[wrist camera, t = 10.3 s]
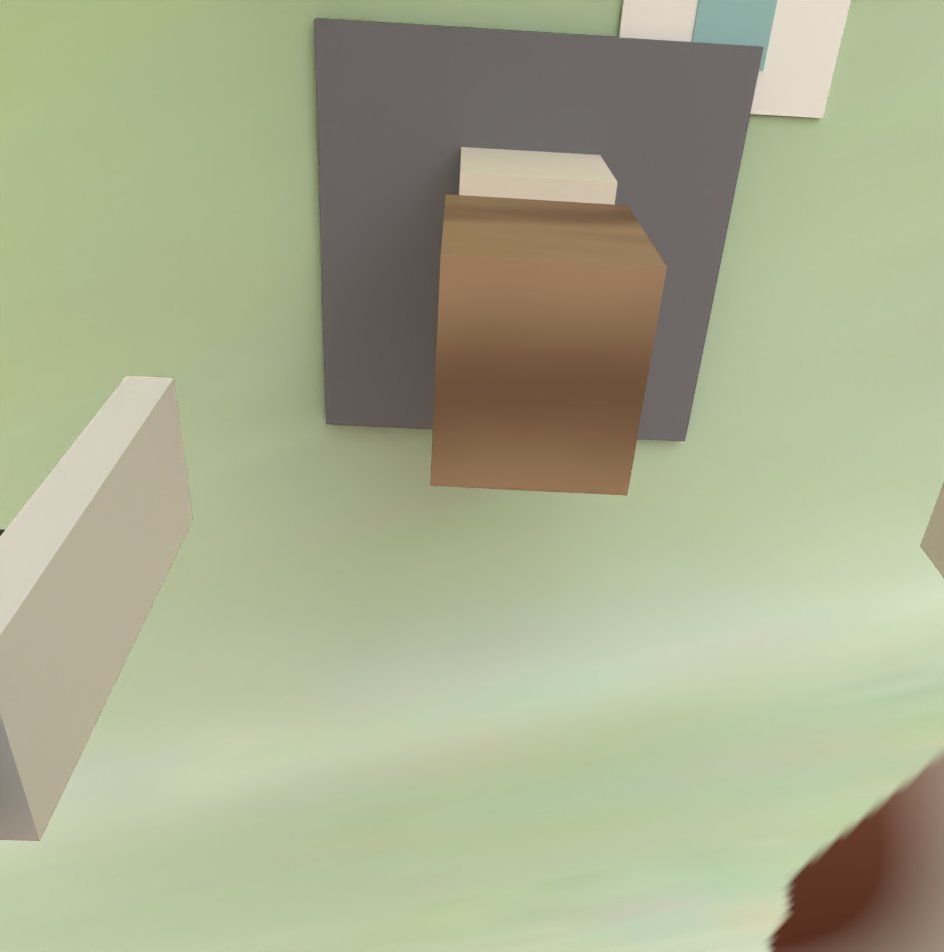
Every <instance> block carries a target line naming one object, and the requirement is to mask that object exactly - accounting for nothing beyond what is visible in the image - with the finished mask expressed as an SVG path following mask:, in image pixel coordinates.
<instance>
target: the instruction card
mask: <svg viewBox="0 0 944 952" xmlns="http://www.w3.org/2000/svg"><path fill="white" fill-rule="evenodd" d="M850 2H851V0H623V5H622V13H621V21H620V29H619V37H621V38H637V39H653V40H669V41H685V42H697V43H713V44H729V45H745V46H761V47H764V48H763V53H762V58H761V63H760V68H759V73H758V78H757V83H756V88H755V93H754V98H753V103H752V108H751V113H750V114H761V115H778V116H795V117H811V118H823V115H824V111H825V107H826V103H827V99H828V94H829V90H830V86H831V82H832V78H833V74H834V69H835V65H836V61H837V57H838V53H839V48H840V44H841V40H842V36H843V32H844V27H845V23H846V19H847V15H848V11H849V6H850Z"/></svg>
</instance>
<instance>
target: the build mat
mask: <svg viewBox="0 0 944 952" xmlns="http://www.w3.org/2000/svg"><path fill="white" fill-rule="evenodd" d="M314 27H315V61H316V95H317V130H318V164H319V199H320V233H321V267H322V302H323V336H324V371H325V405H326V424H331V425H352V426H373V427H394V428H416V429H433V417H434V394H435V372H436V349H437V327H438V304H439V282H440V259H441V245H442V233H443V221H444V209H445V197H446V194H450V195H466V196H483V197H499V198H515V199H532V200H548V201H564V202H580V203H597V204H613V205H628V206H629V208H630V210H631V211H632V213H633V214H634V216H635V218H636V219H637V221H638V222H639V224H640V225H641V227H642V229H643V230H644V232H645V233H646V235H647V237H648V238H649V240H650V241H651V243H652V244H653V246H654V248H655V249H656V251H657V252H658V254H659V256H660V257H661V259H662V260H663V262H664V263H665V265H666V267H667V270H666V275H665V281H664V287H663V293H662V298H661V304H660V310H659V315H658V321H657V327H656V333H655V338H654V344H653V350H652V356H651V361H650V367H649V373H648V378H647V384H646V390H645V396H644V401H643V407H642V413H641V419H640V424H639V430H638V436H637V439H648V440H669V441H685V438H686V433H687V428H688V423H689V418H690V413H691V408H692V403H693V398H694V393H695V388H696V383H697V378H698V373H699V368H700V363H701V358H702V353H703V348H704V343H705V338H706V333H707V328H708V323H709V318H710V313H711V308H712V303H713V298H714V293H715V288H716V283H717V278H718V273H719V268H720V263H721V258H722V253H723V248H724V243H725V238H726V233H727V228H728V223H729V218H730V213H731V208H732V203H733V198H734V193H735V188H736V183H737V178H738V173H739V168H740V163H741V158H742V153H743V148H744V143H745V138H746V133H747V128H748V123H749V118H750V113H751V108H752V103H753V98H754V93H755V88H756V83H757V78H758V73H759V68H760V63H761V58H762V53H763V48H764V47H761V46H745V45H729V44H713V43H697V42H685V41H669V40H653V39H637V38H621V37H612V36H596V35H580V34H564V33H548V32H532V31H516V30H500V29H484V28H468V27H452V26H436V25H420V24H404V23H388V22H372V21H356V20H340V19H324V18H316V19H314Z"/></svg>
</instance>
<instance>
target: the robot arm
mask: <svg viewBox="0 0 944 952" xmlns="http://www.w3.org/2000/svg"><path fill="white" fill-rule="evenodd" d="M192 520H193V515H192V508H191V501H190V493H189V486H188V479H187V471H186V464H185V457H184V449H183V442H182V435H181V427H180V420H179V413H178V406H177V398H176V391H175V384H174V378H165V377H141V376H126V377H125V378H124V379H123V381H122V382H121V383H120V384H119V386H118V387H117V388H116V389H115V391H114V392H113V393H112V395H111V396H110V397H109V398H108V400H107V401H106V402H105V403H104V405H103V406H102V407H101V409H100V410H99V411H98V412H97V414H96V415H95V416H94V417H93V419H92V420H91V421H90V423H89V424H88V425H87V426H86V428H85V429H84V430H83V431H82V433H81V434H80V435H79V437H78V438H77V439H76V440H75V442H74V443H73V444H72V445H71V447H70V448H69V449H68V451H67V452H66V453H65V454H64V456H63V457H62V458H61V460H60V461H59V462H58V463H57V465H56V466H55V467H54V468H53V470H52V471H51V472H50V474H49V475H48V476H47V477H46V479H45V480H44V481H43V482H42V484H41V485H40V486H39V488H38V489H37V490H36V491H35V493H34V494H33V495H32V496H31V498H30V499H29V500H28V502H27V503H26V504H25V505H24V507H23V508H22V509H21V510H20V512H19V513H18V514H17V516H16V517H15V518H14V519H13V521H12V522H11V523H10V525H9V526H8V527H7V528H6V530H0V840H28V841H40V839H41V837H42V835H43V833H44V831H45V829H46V827H47V825H48V823H49V821H50V818H51V816H52V814H53V812H54V810H55V808H56V806H57V804H58V802H59V800H60V797H61V795H62V793H63V791H64V789H65V787H66V785H67V783H68V781H69V779H70V776H71V774H72V772H73V770H74V768H75V766H76V764H77V762H78V760H79V758H80V755H81V753H82V751H83V749H84V747H85V745H86V743H87V741H88V739H89V737H90V734H91V732H92V730H93V728H94V726H95V724H96V722H97V720H98V718H99V716H100V714H101V711H102V709H103V707H104V705H105V703H106V701H107V699H108V697H109V695H110V693H111V690H112V688H113V686H114V684H115V682H116V680H117V678H118V676H119V674H120V672H121V669H122V667H123V665H124V663H125V661H126V659H127V657H128V655H129V653H130V651H131V648H132V646H133V644H134V642H135V640H136V638H137V636H138V634H139V632H140V630H141V627H142V625H143V623H144V621H145V619H146V617H147V615H148V613H149V611H150V609H151V606H152V604H153V602H154V600H155V598H156V596H157V594H158V592H159V590H160V588H161V585H162V583H163V581H164V579H165V577H166V575H167V573H168V571H169V569H170V567H171V564H172V562H173V560H174V558H175V556H176V554H177V552H178V550H179V548H180V546H181V543H182V541H183V539H184V537H185V535H186V533H187V531H188V529H189V527H190V525H191V522H192ZM920 547H921V548H922V549H923V551H924V552H925V553H926V555H927V556H928V557H929V559H930V560H931V561H932V563H933V564H934V565H935V567H936V568H937V569H938V571H939V572H940V574H941V575H942V576H943V578H944V483H943V486H942V488H941V491H940V494H939V496H938V499H937V502H936V504H935V507H934V510H933V513H932V515H931V518H930V521H929V523H928V526H927V529H926V531H925V534H924V537H923V540H922V542H921V545H920Z"/></svg>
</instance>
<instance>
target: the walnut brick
mask: <svg viewBox="0 0 944 952" xmlns="http://www.w3.org/2000/svg"><path fill="white" fill-rule="evenodd" d="M666 270H667V267H666V265H665V263H664V262H663V260H662V259H661V257H660V256H659V254H658V252H657V251H656V249H655V248H654V246H653V244H652V243H651V241H650V240H649V238H648V237H647V235H646V233H645V232H644V230H643V229H642V227H641V225H640V224H639V222H638V221H637V219H636V218H635V216H634V214H633V213H632V211H631V210H630V208H629V206H628V205H613V204H597V203H580V202H564V201H548V200H532V199H515V198H499V197H483V196H466V195H450V194H446V197H445V209H444V221H443V233H442V245H441V259H440V282H439V304H438V327H437V349H436V372H435V394H434V417H433V439H432V462H431V485H430V486H449V487H469V488H489V489H509V490H530V491H550V492H570V493H590V494H610V495H627V493H628V487H629V481H630V476H631V470H632V464H633V459H634V453H635V447H636V441H637V436H638V430H639V424H640V419H641V413H642V407H643V401H644V396H645V390H646V384H647V378H648V373H649V367H650V361H651V356H652V350H653V344H654V338H655V333H656V327H657V321H658V315H659V310H660V304H661V298H662V293H663V287H664V281H665V275H666Z"/></svg>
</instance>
